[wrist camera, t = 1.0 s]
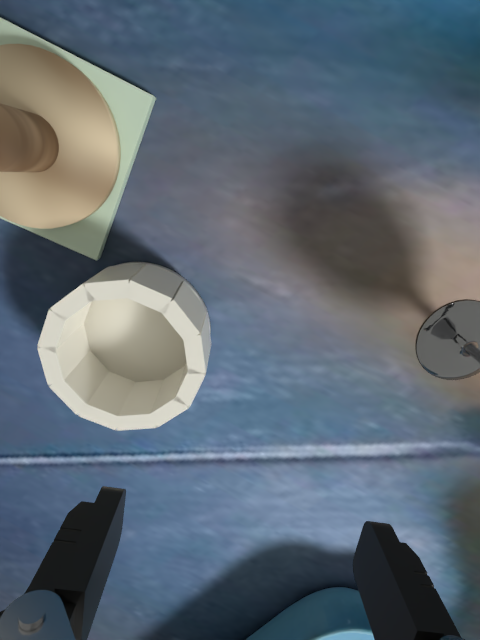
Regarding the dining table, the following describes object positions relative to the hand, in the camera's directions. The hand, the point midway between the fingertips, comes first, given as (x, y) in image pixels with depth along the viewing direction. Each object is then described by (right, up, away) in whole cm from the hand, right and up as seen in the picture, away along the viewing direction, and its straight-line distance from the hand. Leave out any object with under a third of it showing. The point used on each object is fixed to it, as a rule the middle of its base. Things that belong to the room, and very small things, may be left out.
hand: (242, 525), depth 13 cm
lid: (-14, +19, +14) cm, 27 cm away
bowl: (-8, +6, +19) cm, 22 cm away
